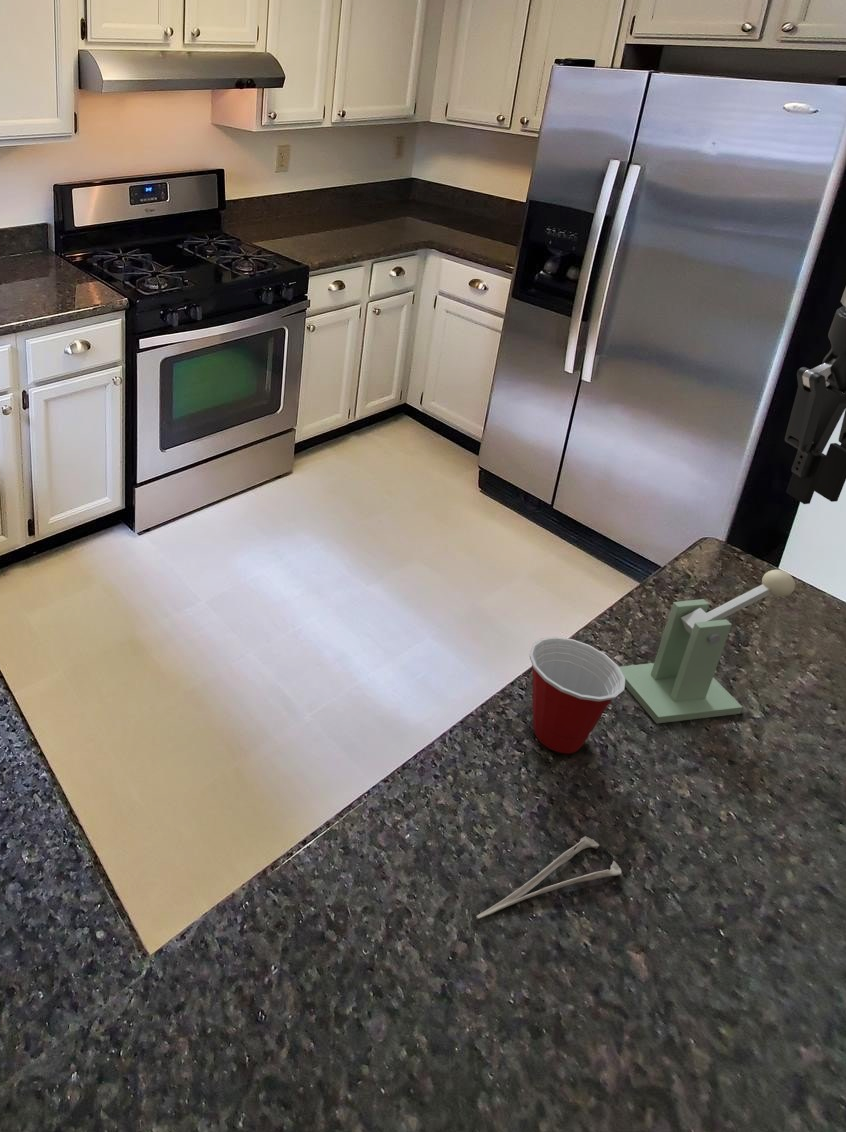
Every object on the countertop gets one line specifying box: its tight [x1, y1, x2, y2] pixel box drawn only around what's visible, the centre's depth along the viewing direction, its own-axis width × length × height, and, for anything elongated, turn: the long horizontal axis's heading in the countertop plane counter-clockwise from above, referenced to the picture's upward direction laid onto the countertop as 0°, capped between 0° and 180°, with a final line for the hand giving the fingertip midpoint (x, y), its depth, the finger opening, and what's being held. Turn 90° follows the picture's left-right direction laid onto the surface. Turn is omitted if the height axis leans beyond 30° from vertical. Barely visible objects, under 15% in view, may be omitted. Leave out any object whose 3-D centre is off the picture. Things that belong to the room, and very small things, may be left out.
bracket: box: [619, 598, 743, 725], centre depth 105 cm, size 12×9×14 cm
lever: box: [681, 569, 796, 634], centre depth 102 cm, size 14×3×3 cm
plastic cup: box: [528, 636, 626, 754], centre depth 99 cm, size 11×11×12 cm
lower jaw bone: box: [475, 835, 623, 920], centre depth 84 cm, size 18×5×2 cm, turn 111°
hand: (811, 496), depth 96 cm, fingers open, 3 cm apart
